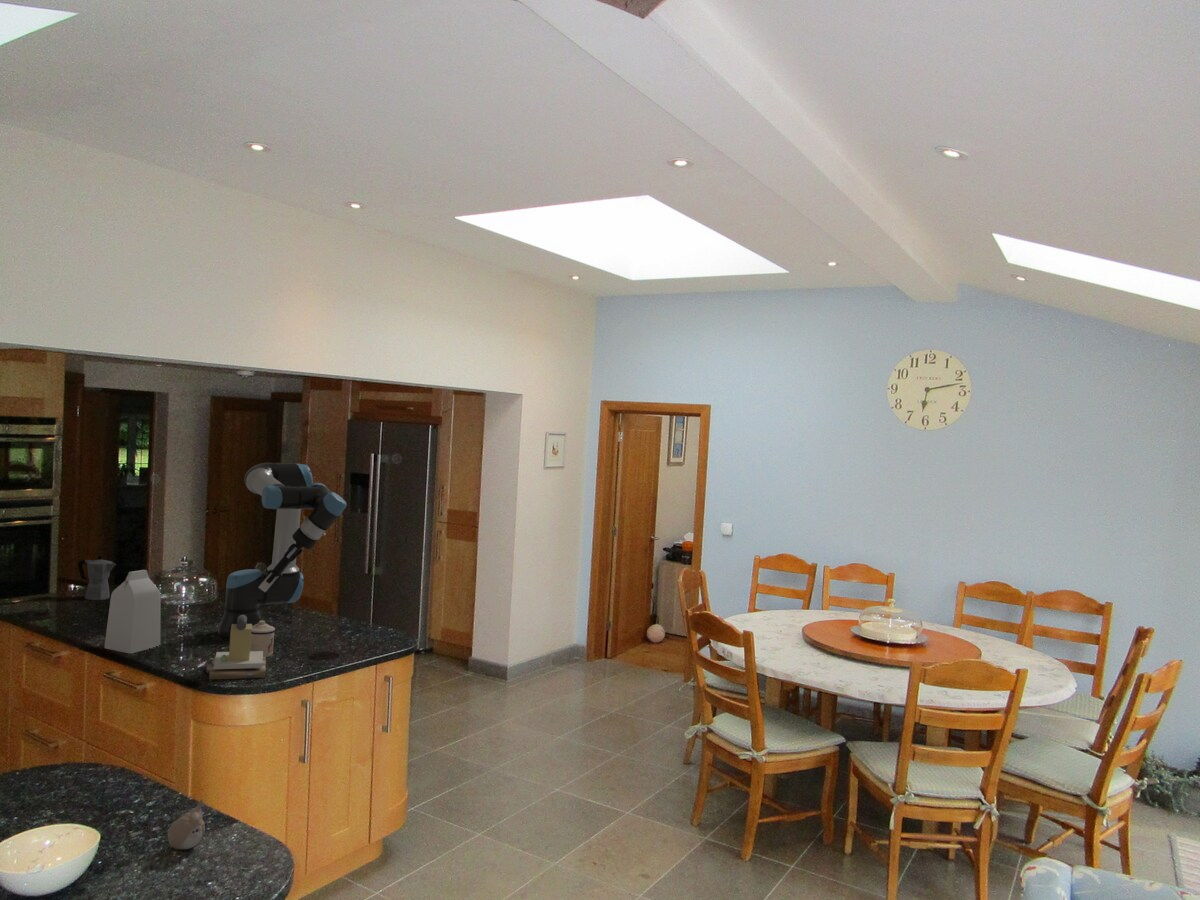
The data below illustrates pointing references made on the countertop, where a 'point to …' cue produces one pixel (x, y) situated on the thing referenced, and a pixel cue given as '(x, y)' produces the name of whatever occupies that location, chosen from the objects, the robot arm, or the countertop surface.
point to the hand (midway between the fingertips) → (262, 589)
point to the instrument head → (239, 649)
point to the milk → (134, 615)
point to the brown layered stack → (236, 672)
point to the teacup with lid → (262, 638)
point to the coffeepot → (97, 578)
